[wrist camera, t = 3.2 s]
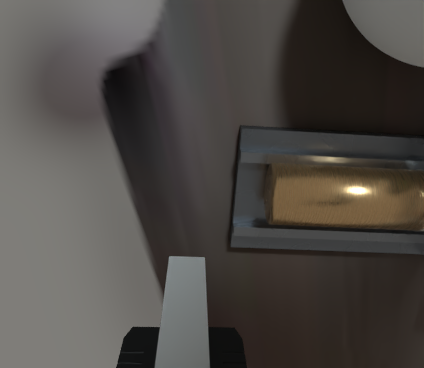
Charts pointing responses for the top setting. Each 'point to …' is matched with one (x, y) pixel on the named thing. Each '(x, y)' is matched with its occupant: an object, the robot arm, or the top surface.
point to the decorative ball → (391, 26)
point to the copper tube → (344, 197)
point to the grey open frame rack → (317, 155)
